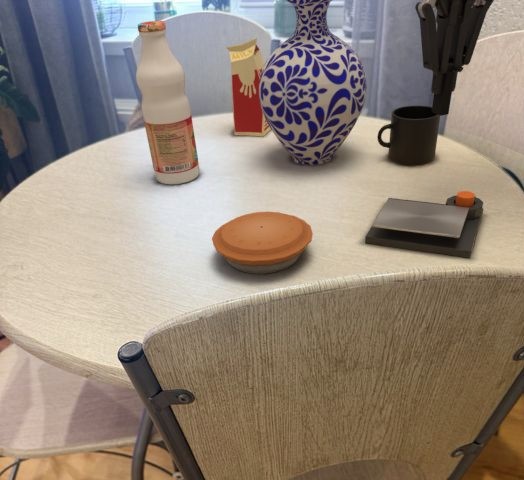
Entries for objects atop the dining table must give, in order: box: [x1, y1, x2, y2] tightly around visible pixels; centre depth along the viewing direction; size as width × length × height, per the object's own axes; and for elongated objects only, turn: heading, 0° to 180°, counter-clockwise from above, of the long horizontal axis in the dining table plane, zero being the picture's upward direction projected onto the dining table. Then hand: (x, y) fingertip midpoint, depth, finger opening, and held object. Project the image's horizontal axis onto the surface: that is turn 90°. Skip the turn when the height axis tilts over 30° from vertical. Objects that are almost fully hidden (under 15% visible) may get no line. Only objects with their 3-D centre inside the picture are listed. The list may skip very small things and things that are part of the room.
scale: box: [364, 194, 484, 259], centre depth 86 cm, size 16×15×3 cm
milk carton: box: [225, 37, 271, 137], centre depth 126 cm, size 9×9×20 cm
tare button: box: [455, 190, 476, 207], centre depth 87 cm, size 3×3×2 cm
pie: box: [211, 211, 314, 275], centre depth 83 cm, size 15×16×5 cm
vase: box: [259, 0, 368, 166], centre depth 106 cm, size 22×22×30 cm
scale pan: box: [371, 198, 469, 238], centre depth 84 cm, size 13×10×1 cm
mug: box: [377, 104, 441, 166], centre depth 108 cm, size 9×12×9 cm
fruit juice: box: [135, 20, 200, 185], centre depth 103 cm, size 9×9×28 cm
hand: (439, 112), depth 92 cm, fingers closed
